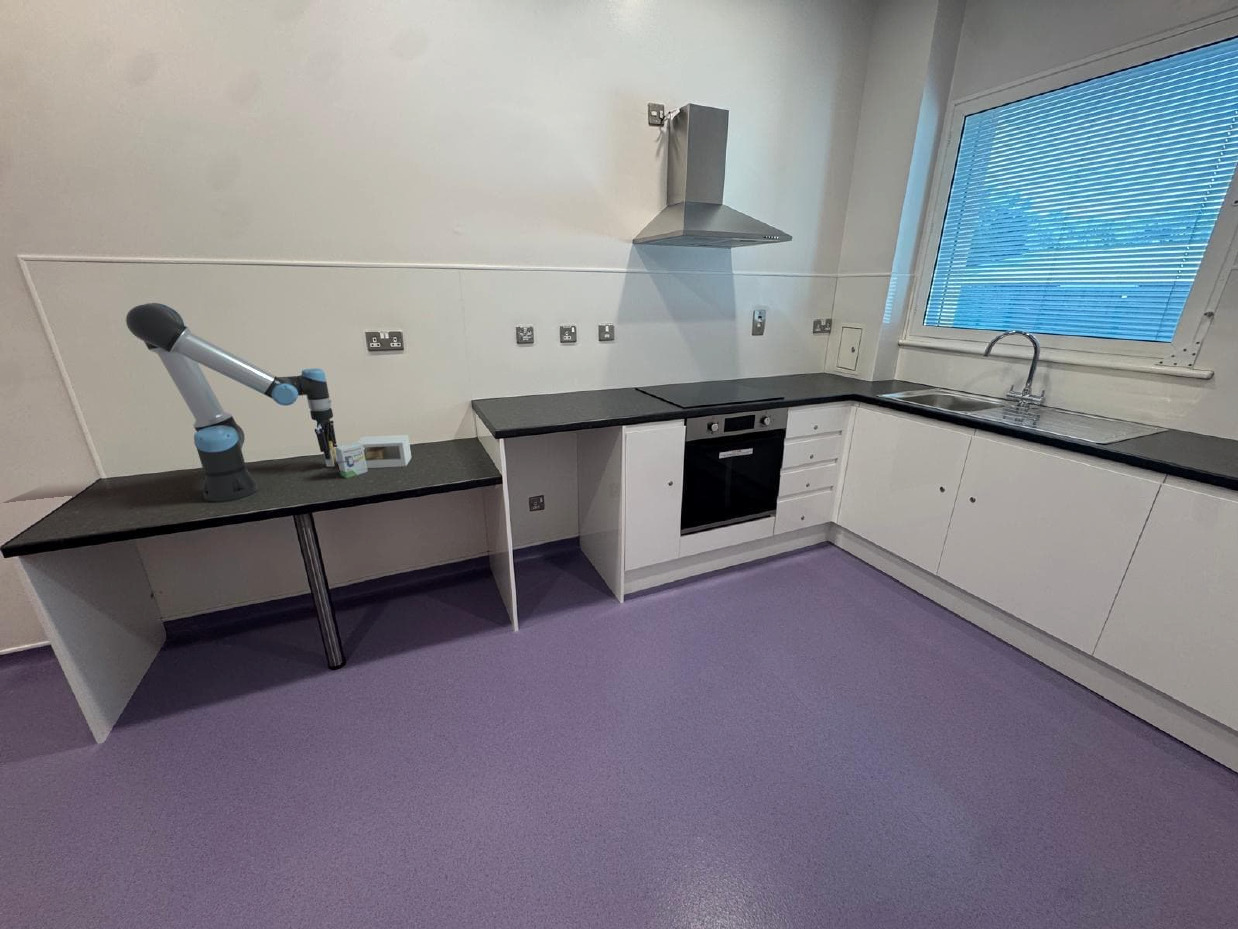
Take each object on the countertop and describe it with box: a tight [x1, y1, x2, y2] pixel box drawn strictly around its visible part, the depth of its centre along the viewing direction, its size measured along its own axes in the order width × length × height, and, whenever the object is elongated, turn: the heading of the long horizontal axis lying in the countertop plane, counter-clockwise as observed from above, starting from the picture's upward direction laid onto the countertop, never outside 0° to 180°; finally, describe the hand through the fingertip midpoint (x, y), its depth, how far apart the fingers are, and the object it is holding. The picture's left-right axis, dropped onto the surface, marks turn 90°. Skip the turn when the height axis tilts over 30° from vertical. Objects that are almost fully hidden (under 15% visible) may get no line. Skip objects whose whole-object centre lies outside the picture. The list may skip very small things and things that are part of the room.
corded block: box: [329, 441, 387, 468], centre depth 202 cm, size 22×6×10 cm, turn 101°
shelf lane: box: [356, 434, 412, 469], centre depth 204 cm, size 18×11×10 cm, turn 101°
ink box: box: [334, 441, 368, 479], centre depth 192 cm, size 9×5×12 cm, turn 143°
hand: (332, 464), depth 202 cm, fingers closed on corded block, 3 cm apart
